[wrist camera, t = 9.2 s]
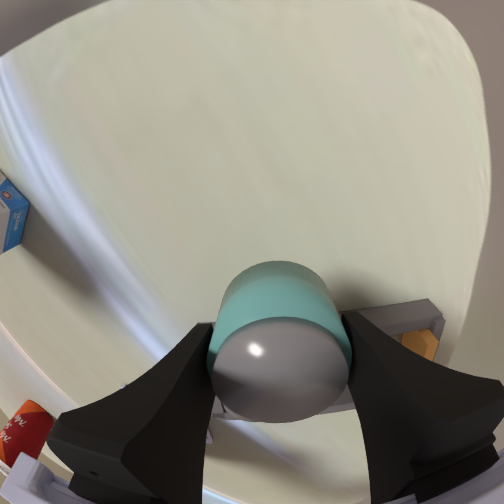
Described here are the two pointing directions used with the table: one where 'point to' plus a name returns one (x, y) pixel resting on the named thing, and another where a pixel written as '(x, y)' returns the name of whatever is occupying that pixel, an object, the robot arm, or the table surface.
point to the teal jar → (278, 345)
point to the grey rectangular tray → (388, 321)
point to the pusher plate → (421, 343)
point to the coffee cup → (24, 434)
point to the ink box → (11, 214)
